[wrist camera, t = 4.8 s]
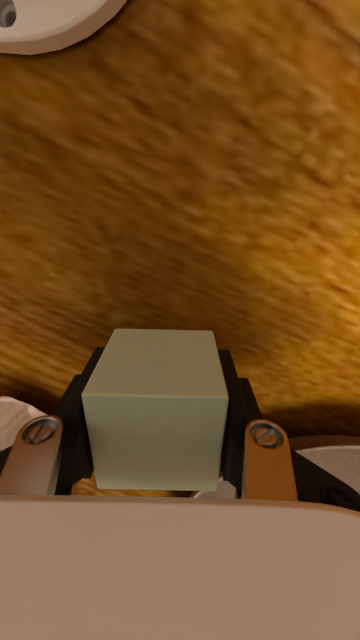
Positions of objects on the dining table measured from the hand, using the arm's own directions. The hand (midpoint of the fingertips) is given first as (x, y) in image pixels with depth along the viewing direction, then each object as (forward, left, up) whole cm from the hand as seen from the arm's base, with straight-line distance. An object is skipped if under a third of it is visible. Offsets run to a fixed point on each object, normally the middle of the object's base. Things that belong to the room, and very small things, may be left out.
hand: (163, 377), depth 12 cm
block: (0, 0, -1) cm, 1 cm away
